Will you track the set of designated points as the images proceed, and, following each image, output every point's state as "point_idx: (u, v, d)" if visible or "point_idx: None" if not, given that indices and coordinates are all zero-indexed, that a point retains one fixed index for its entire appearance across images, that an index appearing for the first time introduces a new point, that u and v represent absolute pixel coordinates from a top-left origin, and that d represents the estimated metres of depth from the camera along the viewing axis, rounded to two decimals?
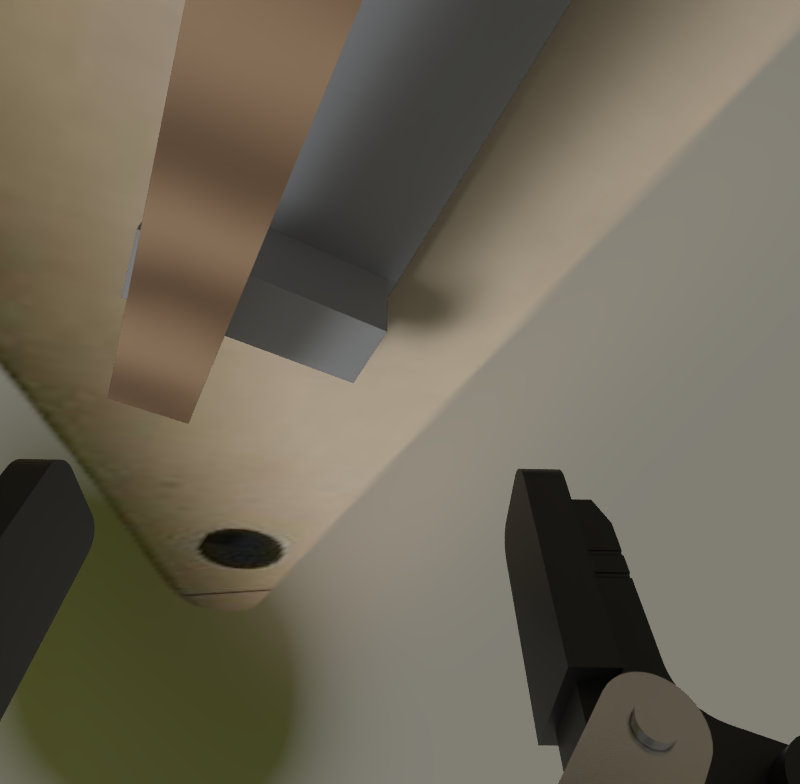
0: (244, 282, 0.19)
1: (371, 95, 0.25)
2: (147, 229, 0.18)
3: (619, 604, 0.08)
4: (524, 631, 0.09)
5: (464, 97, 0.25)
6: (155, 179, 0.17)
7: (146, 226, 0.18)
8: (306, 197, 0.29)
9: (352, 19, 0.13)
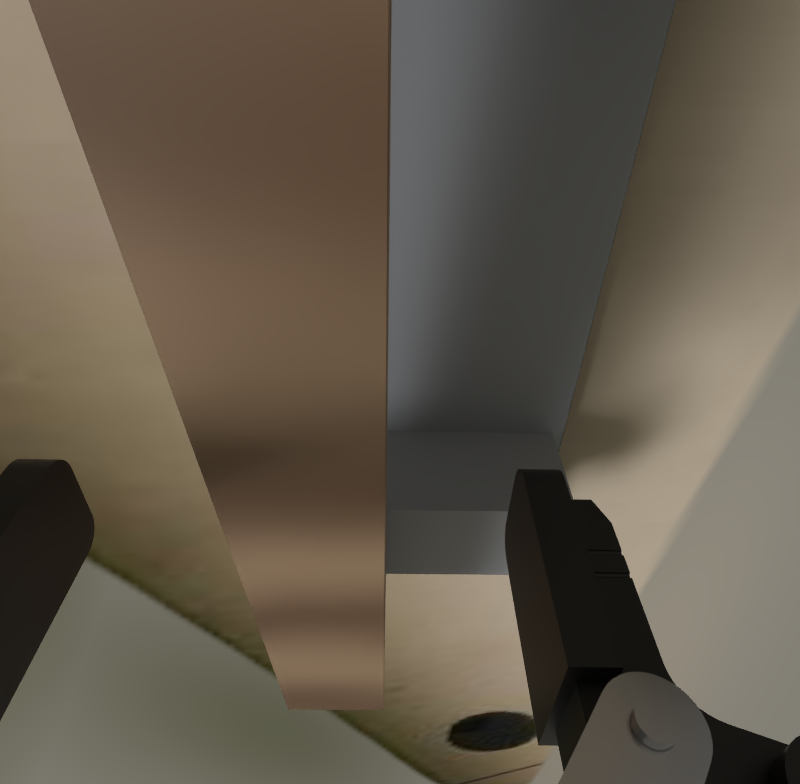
0: (382, 590, 0.15)
1: (454, 259, 0.21)
2: (248, 578, 0.14)
3: (619, 604, 0.08)
4: (524, 632, 0.09)
5: (566, 212, 0.20)
6: (231, 537, 0.13)
7: (246, 576, 0.14)
8: (424, 387, 0.24)
9: (383, 299, 0.08)
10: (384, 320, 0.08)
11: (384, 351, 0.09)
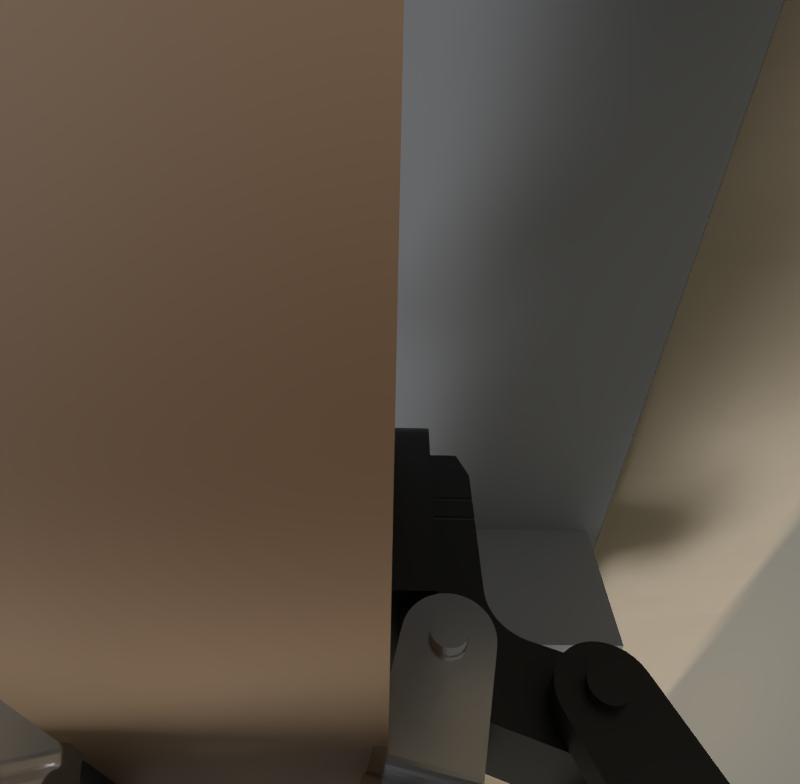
0: None
1: (474, 342, 0.17)
2: None
3: (457, 543, 0.09)
4: None
5: (615, 288, 0.16)
6: None
7: None
8: None
9: (385, 640, 0.04)
10: (386, 658, 0.05)
11: (386, 685, 0.05)
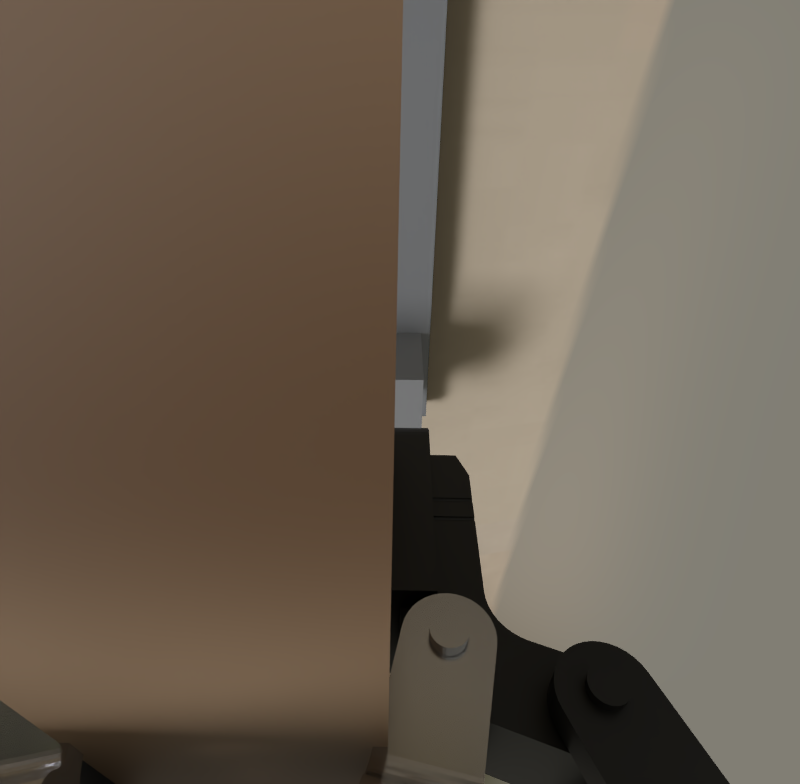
0: None
1: None
2: None
3: (457, 543, 0.09)
4: None
5: None
6: None
7: None
8: None
9: (385, 642, 0.04)
10: (386, 660, 0.05)
11: (386, 687, 0.05)
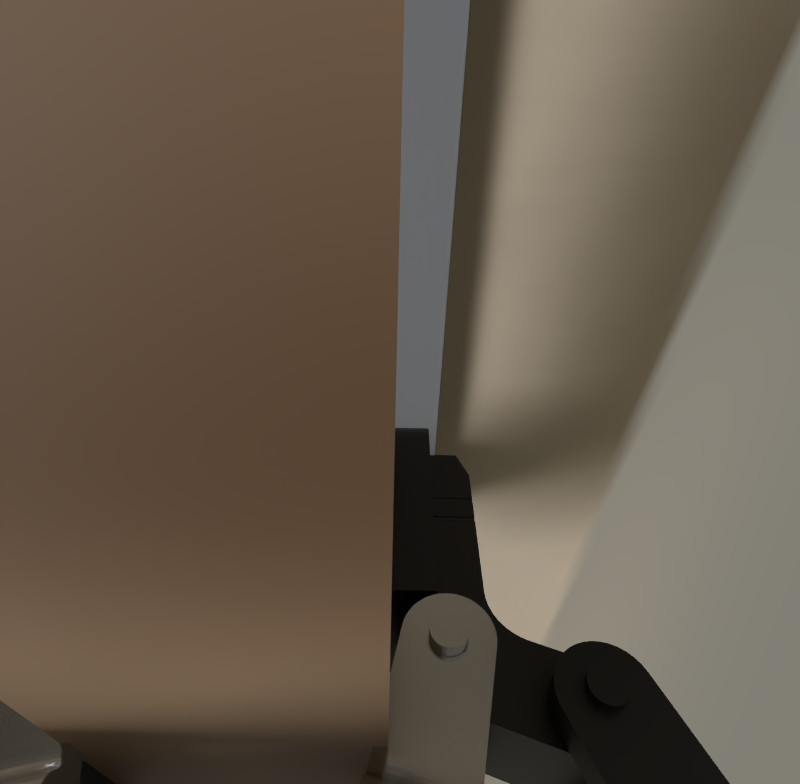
0: None
1: None
2: None
3: (457, 543, 0.09)
4: None
5: None
6: None
7: None
8: None
9: (385, 642, 0.04)
10: (387, 660, 0.05)
11: (386, 687, 0.05)
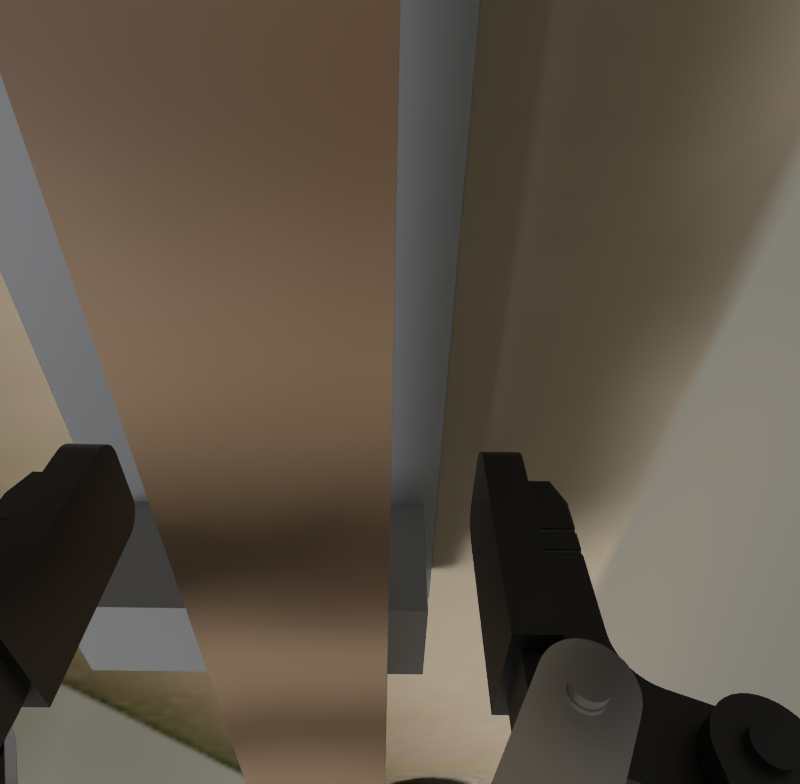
0: (384, 695, 0.12)
1: None
2: (219, 679, 0.11)
3: (568, 578, 0.09)
4: (483, 608, 0.10)
5: None
6: (198, 625, 0.10)
7: (216, 676, 0.11)
8: None
9: (391, 305, 0.06)
10: (391, 333, 0.07)
11: (391, 376, 0.07)
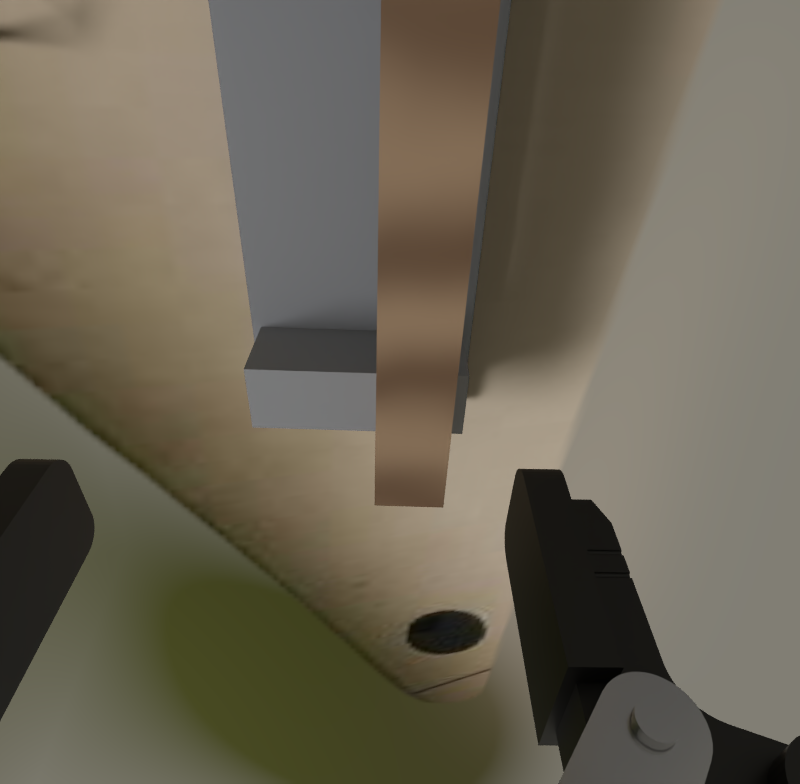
0: (460, 347, 0.24)
1: None
2: (381, 332, 0.24)
3: (619, 604, 0.08)
4: (524, 632, 0.09)
5: None
6: (380, 289, 0.22)
7: (380, 330, 0.24)
8: (366, 293, 0.33)
9: (487, 110, 0.19)
10: (485, 122, 0.19)
11: (483, 142, 0.19)
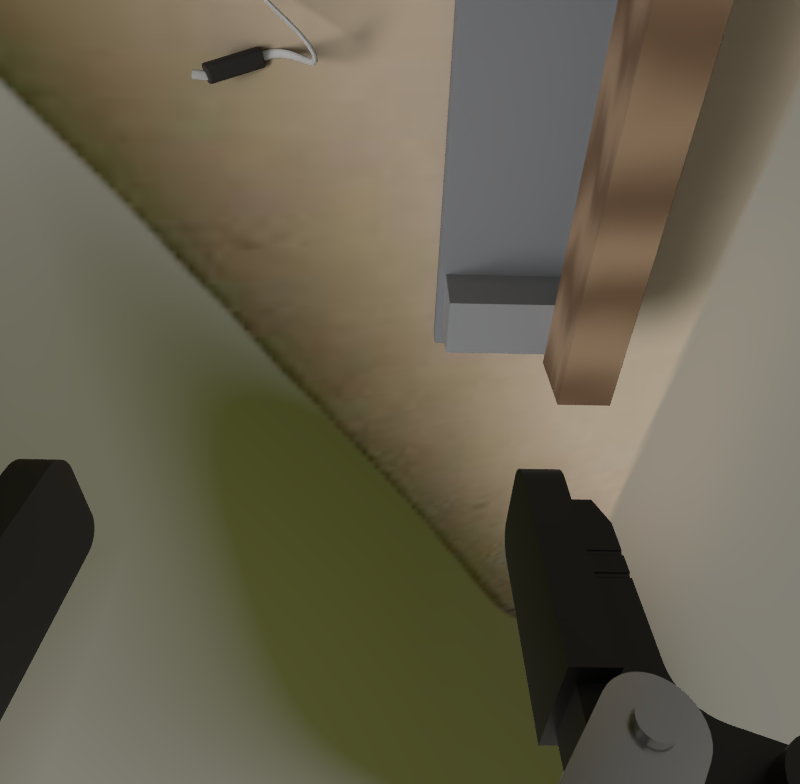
0: (649, 272, 0.33)
1: (559, 163, 0.39)
2: (594, 262, 0.33)
3: (619, 604, 0.08)
4: (524, 632, 0.09)
5: None
6: (601, 228, 0.31)
7: (594, 260, 0.33)
8: (534, 245, 0.42)
9: (703, 98, 0.28)
10: (700, 107, 0.28)
11: (696, 120, 0.28)
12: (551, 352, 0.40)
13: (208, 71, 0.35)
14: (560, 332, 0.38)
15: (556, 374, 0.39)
